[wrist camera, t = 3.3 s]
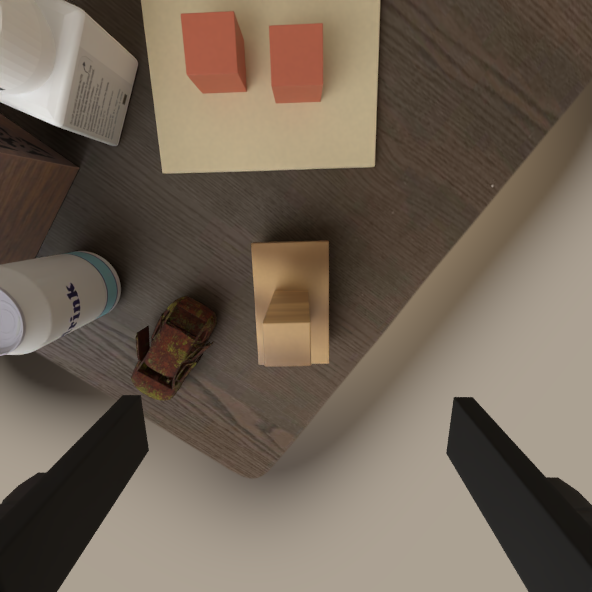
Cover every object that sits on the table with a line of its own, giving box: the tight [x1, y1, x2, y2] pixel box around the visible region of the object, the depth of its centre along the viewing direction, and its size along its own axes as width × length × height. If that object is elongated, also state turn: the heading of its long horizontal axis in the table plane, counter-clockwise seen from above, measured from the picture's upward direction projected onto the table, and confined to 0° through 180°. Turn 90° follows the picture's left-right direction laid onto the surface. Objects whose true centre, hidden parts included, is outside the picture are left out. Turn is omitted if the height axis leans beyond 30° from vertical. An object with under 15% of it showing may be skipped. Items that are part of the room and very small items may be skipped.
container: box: [0, 0, 138, 146], centre depth 23 cm, size 8×8×13 cm
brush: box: [251, 240, 329, 366], centre depth 27 cm, size 12×7×13 cm, turn 2°
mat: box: [141, 0, 380, 174], centre depth 28 cm, size 20×16×1 cm
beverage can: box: [0, 251, 121, 356], centre depth 28 cm, size 7×7×12 cm
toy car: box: [131, 296, 217, 400], centre depth 33 cm, size 12×7×5 cm, turn 148°
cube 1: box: [181, 11, 247, 94], centre depth 26 cm, size 4×4×4 cm
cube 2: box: [269, 23, 323, 103], centre depth 26 cm, size 4×4×4 cm
